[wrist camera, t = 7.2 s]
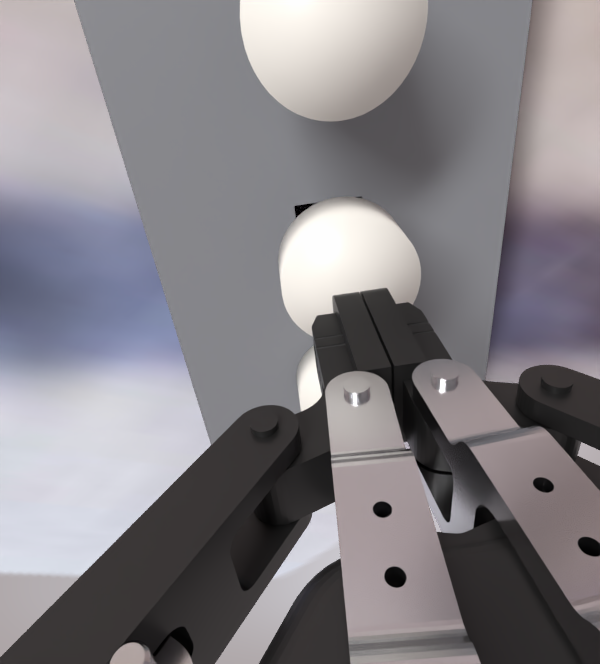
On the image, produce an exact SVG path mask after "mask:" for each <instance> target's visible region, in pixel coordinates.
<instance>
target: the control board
mask: <svg viewBox="0 0 600 664" xmlns="http://www.w3.org/2000/svg"><path fill="white" fill-rule="evenodd" d="M74 2H75V5H76V8H77V12H78V15H79V18H80V21H81V25H82V28H83V31H84V34H85V38H86V41H87V44H88V47H89V51H90V54H91V57H92V60H93V64H94V67H95V70H96V73H97V76H98V80H99V83H100V86H101V89H102V93H103V96H104V99H105V102H106V106H107V109H108V112H109V115H110V119H111V122H112V125H113V128H114V132H115V135H116V138H117V141H118V145H119V148H120V151H121V154H122V157H123V161H124V164H125V167H126V170H127V174H128V177H129V180H130V183H131V187H132V190H133V193H134V196H135V200H136V203H137V206H138V209H139V213H140V216H141V219H142V222H143V226H144V229H145V232H146V235H147V239H148V242H149V245H150V248H151V251H152V255H153V258H154V261H155V264H156V268H157V271H158V274H159V277H160V281H161V284H162V287H163V290H164V294H165V297H166V300H167V303H168V307H169V310H170V313H171V316H172V320H173V323H174V326H175V329H176V332H177V336H178V339H179V342H180V345H181V349H182V352H183V355H184V358H185V362H186V365H187V368H188V371H189V375H190V378H191V381H192V384H193V388H194V391H195V394H196V397H197V401H198V404H199V407H200V410H201V413H202V417H203V420H204V423H205V426H206V430H207V433H208V436H209V439H210V443H211V445H212V444H213V443H214V442H215V441H216V440H217V439H218V438H219V437H220V436H221V435H222V434H223V433H224V432H225V431H226V430H227V429H228V428H229V427H230V426H231V425H232V424H233V423H234V422H235V421H236V420H237V419H238V418H239V417H240V416H241V415H242V414H244V413H245V412H247V411H249V410H251V409H253V408H256V407H259V406H264V405H278V406H282V407H285V408H287V409H289V410H291V411H292V412H293V413H294V414H296V413H299V412H301V408H300V400H299V393H298V386H297V376H296V375H297V369H298V365H299V363H300V361H301V359H302V357H303V356H304V355H305V353H306V352H307V351H308V350H309V349H310V348H311V347H313V346H314V343H313V336H311V335H309V334H307V333H306V332H304V331H303V330H302V329H301V328H299V327H298V326H297V325H296V324H295V322H294V321H293V320H292V319H291V317H290V315H289V314H288V312H287V310H286V307H285V305H284V301H283V297H282V290H281V282H280V274H279V264H278V256H279V249H280V245H281V242H282V239H283V237H284V235H285V233H286V231H287V229H288V228H289V226H290V225H291V223H292V222H293V221H294V220H295V219H296V216H295V208H294V206H296V205H303V204H310V203H317V202H321V201H324V200H327V199H330V198H335V197H345V196H346V197H357V198H363V199H366V200H368V201H371V202H373V203H375V204H377V205H379V206H380V207H382V208H383V209H384V210H386V211H387V212H388V213H389V214H390V215H391V217H392V218H393V219H394V220H395V222H396V223H397V224H398V226H399V227H400V228H401V230H402V231H403V232H404V234H405V235H406V236H407V238H408V239H409V240H410V242H411V243H412V244H413V246H414V248H415V250H416V252H417V255H418V257H419V261H420V266H421V282H420V287H419V291H418V294H417V297H416V299H415V301H414V303H413V305H414V306H415V307H417V308H418V309H420V310H422V312H423V314H424V315H425V317H426V318H427V320H428V323H430V325H431V326H432V328H433V330H434V332H435V333H436V334H437V336H438V337H439V339H440V341H441V342H442V344H443V345H444V347H445V349H446V350H447V352H448V353H449V355H450V357H451V358H452V360H455V361H459V362H461V363H464V364H465V365H467V366H469V367H470V368H472V369H473V370H474V371H475V373H476V374H477V375H478V376H479V378H480V379H481V380H484V381H485V378H486V370H487V362H488V354H489V345H490V337H491V329H492V321H493V313H494V305H495V297H496V289H497V281H498V273H499V265H500V257H501V249H502V241H503V233H504V225H505V217H506V209H507V201H508V193H509V185H510V177H511V169H512V161H513V153H514V145H515V137H516V129H517V120H518V112H519V104H520V96H521V88H522V80H523V72H524V64H525V56H526V48H527V40H528V32H529V24H530V16H531V8H532V0H428V15H427V24H426V29H425V35H424V38H423V42H422V45H421V48H420V51H419V53H418V56H417V58H416V61H415V63H414V65H413V66H412V68H411V70H410V72H409V74H408V75H407V77H406V78H405V79H404V81H403V82H402V84H401V85H400V86H399V87H398V88H397V90H396V91H395V92H394V93H393V94H392V95H391V96H390V97H389V98H388V99H386V100H385V101H384V102H383V103H382V104H380V105H379V106H377V107H376V108H374V109H373V110H371V111H369V112H367V113H365V114H363V115H361V116H358V117H355V118H352V119H348V120H343V121H332V122H329V121H318V120H313V119H309V118H306V117H303V116H301V115H298V114H296V113H294V112H292V111H291V110H289V109H287V108H286V107H284V106H283V105H282V104H280V103H279V102H278V101H277V100H276V99H275V98H274V97H273V96H272V95H271V94H269V92H268V91H267V90H266V89H265V87H264V86H263V85H262V84H261V82H260V80H259V79H258V77H257V76H256V74H255V72H254V70H253V68H252V66H251V64H250V62H249V59H248V56H247V53H246V50H245V47H244V43H243V38H242V33H241V25H240V0H74Z"/></svg>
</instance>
